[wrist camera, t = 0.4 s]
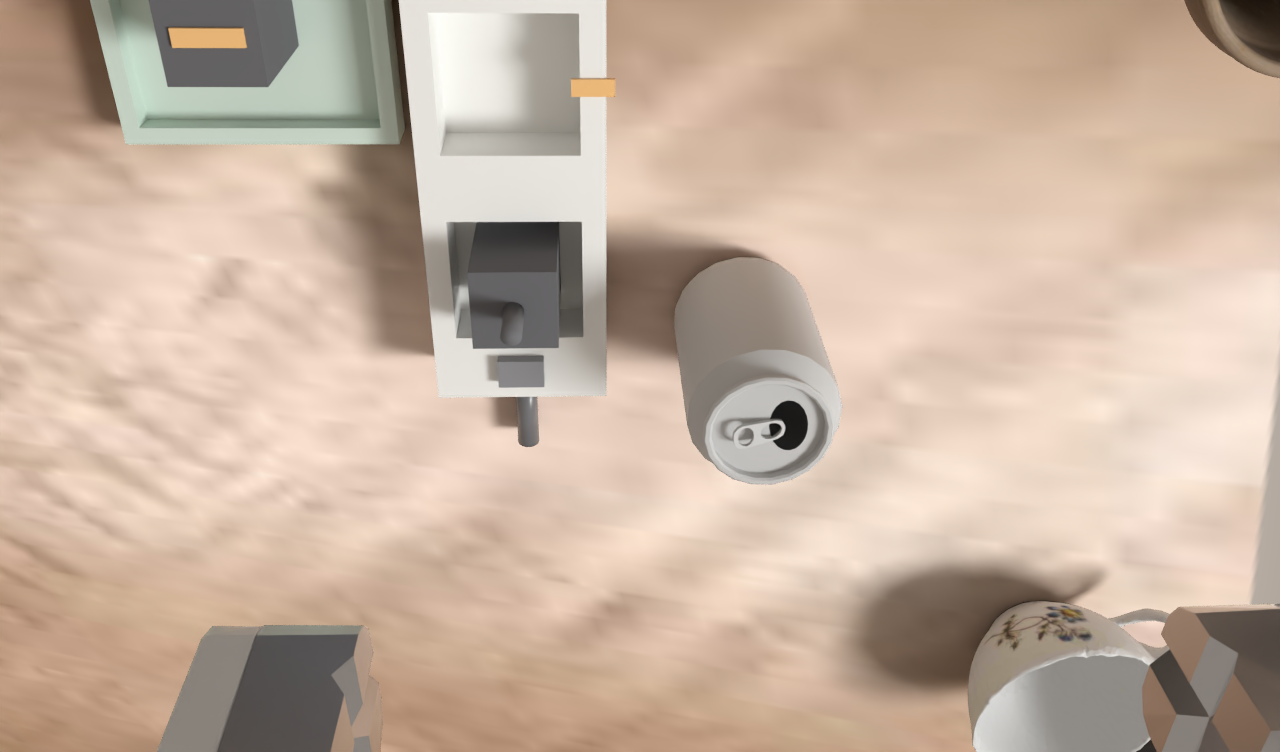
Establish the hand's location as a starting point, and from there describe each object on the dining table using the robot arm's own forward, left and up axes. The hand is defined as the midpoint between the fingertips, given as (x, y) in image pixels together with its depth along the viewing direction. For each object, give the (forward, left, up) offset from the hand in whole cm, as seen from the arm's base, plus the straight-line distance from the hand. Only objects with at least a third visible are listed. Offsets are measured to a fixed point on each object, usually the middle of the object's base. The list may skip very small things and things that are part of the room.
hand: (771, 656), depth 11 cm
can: (+22, +6, -46) cm, 51 cm away
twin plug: (+18, -6, -44) cm, 48 cm away
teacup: (+47, +29, -46) cm, 72 cm away
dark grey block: (+5, -18, -45) cm, 48 cm away
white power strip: (+15, -5, -45) cm, 48 cm away
